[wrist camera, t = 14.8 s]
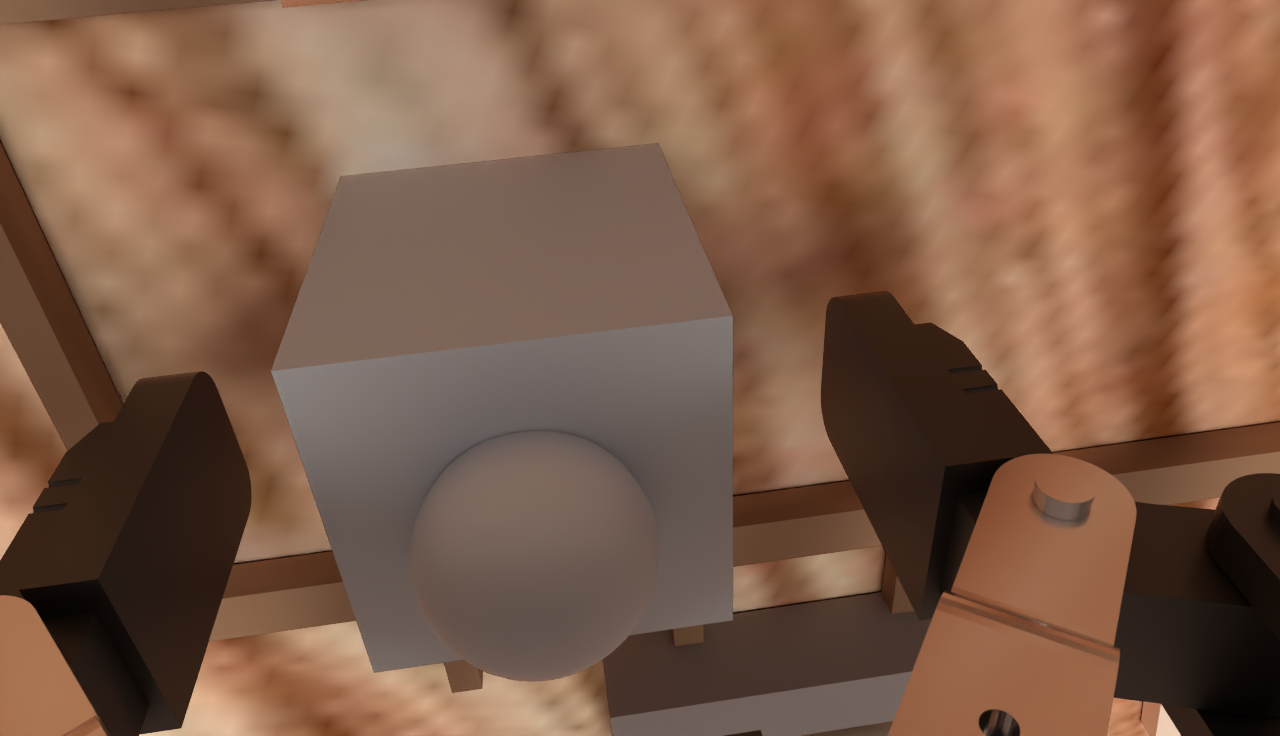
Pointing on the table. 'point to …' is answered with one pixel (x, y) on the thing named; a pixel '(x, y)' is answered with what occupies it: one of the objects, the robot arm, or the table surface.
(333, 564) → the open rectangular frame
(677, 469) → the cube with round knob
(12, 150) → the table surface
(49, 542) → the robot arm
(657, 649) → the gray square frame
